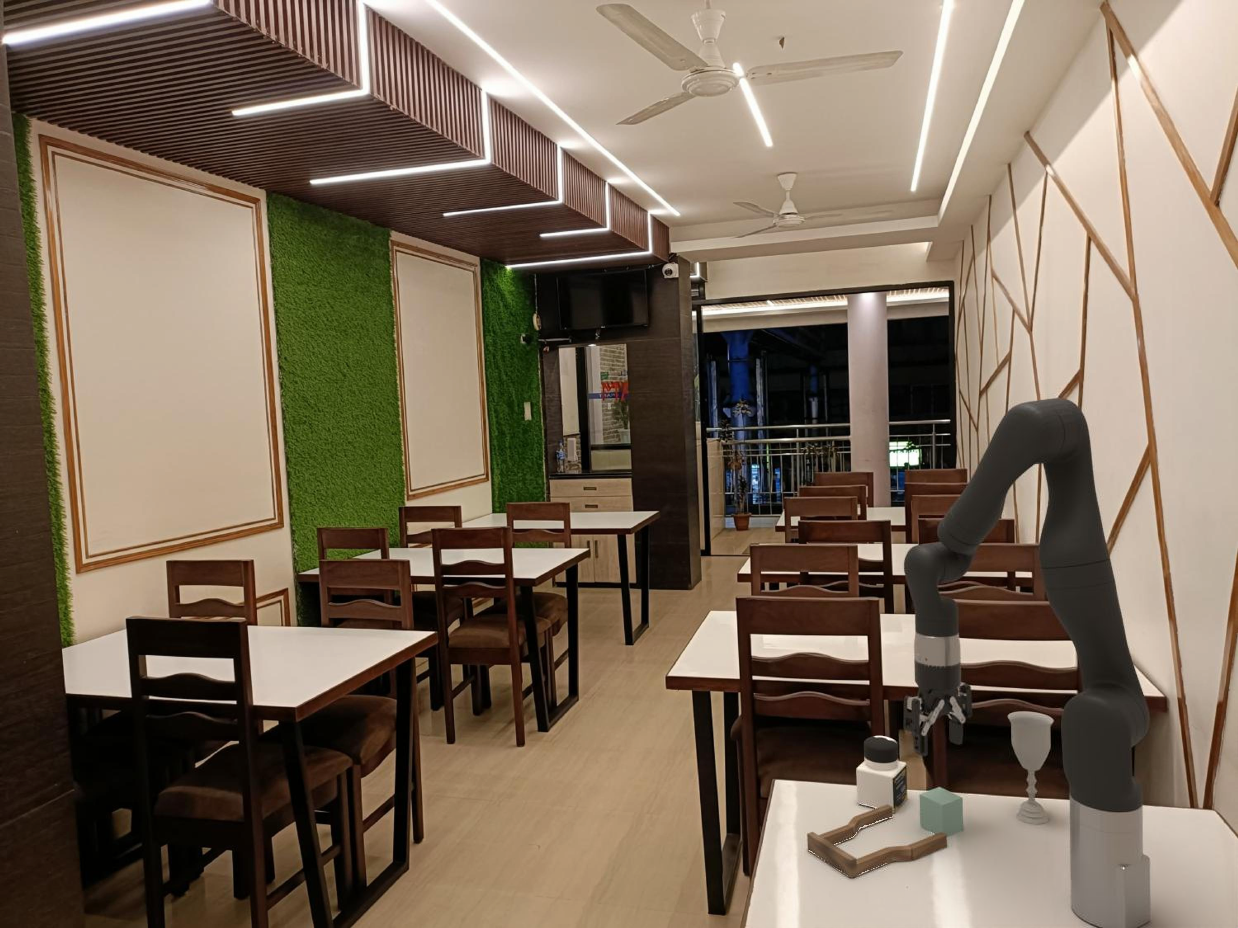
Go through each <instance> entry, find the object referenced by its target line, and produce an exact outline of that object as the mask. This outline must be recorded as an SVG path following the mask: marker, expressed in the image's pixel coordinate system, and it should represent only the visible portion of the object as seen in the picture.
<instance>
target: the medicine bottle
mask: <svg viewBox="0 0 1238 928" xmlns="http://www.w3.org/2000/svg"><path fill="white" fill-rule="evenodd" d="M863 753H864V754H863V755H864V756H863V757H864V758H863V759H864V761H863V762H861V764H859V765H858V767H856V771H855V772H856V773H855V775H856V796H857V797H856V800H857V804H858V803H859V804H860V803H861V804H867V805H869V806H874V807H877V808H879V807H882V806H885V805H887V804H888V805H890V806H891V807H893V814H895V813H896V812H897V811H898V809H900V807H901V806H902V805H903V804H904V803H905V802H906V800H907V799H908V776H907V775H908V773H907V771H908V769H907V763H906V762H904V761H900V760H899V746H898V742H897V741H896V740H895V739H893V738H891V737H888V736H886V735H885V736H883V735H875V736H870V737H867V738H866V739H865V740H864V742H863ZM859 804H858V805H859Z"/></svg>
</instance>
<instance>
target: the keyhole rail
mask: <svg viewBox="0 0 1238 928" xmlns="http://www.w3.org/2000/svg"><path fill="white" fill-rule="evenodd" d="M892 816H893V817H894V813H893V807H891V806H890V805H888V804H887V805H885V806H882V807H879V808H876V809H874V808H873V809H872V810H869V811H866V812H863V813H861V814H858V815H854V816H853V817H852V818H851V820H850V821H849V822H848V823H847V824H845V825H843V826H839V827H838V828H835V829H832V830H829V831H826V832H824V833H821V834H817V833H816V832H814V831H810V832H808V833H806V835H807V837H806V839H807V841H806V842H807V851H808V850H810V851H812V852H813V853H815V854H816V855H817V856H819V857H820V858H822V859H823V860H825V861H826V862H827V863H826V862H825V863H826V864H828V863H829V864H830V865H829V864H828V865H829V866H831V865H832V866H834V867H835V868H837V869H838V870H840V871H842V872H843V873H845V874H846V875H848V876H849V877H851V878H852V877H855V876H857V875H859V874H861V873H862V872H865V871H867V870H871V869H873V868H876V867H878V866H881V865H883V864H885V863H889V862H891V863H893V862H892V861H903V862H912V861H915V859H916V860H918V859H920V858H922V856H923V857H925V856H927V855H930V854H932V852H933V853H934V851H935V852H937V851H940V850H942V849H944V848H947V847H948V837H947V835H946V834H944V833H942V832H940V833H938V834H933V835H930V836H928V837H926V838H923V839H921V840H918V841H916V842H913V843H911V844H908V845H897V846H896V845H895V846H894V845H893V846H886V847H884V848H880V849H879V850H876V851H874V852H871V853H869V854H866V855H864V856H861V857H858V858H856V857H854V856H853V855H851V854H850V853H849V852H846V851H845V850H844V849H842V848H840V847H839V846H837V845H834V844H836V843H839V842H842V841H844V840H846V839H849V838H851V837H853V836H854V835H855V834H856V832H857V831H858V830H859V828H860V827H863V826H864V825H869V824H872V823H875V822H876V821H879V820H882V819H885V818H889V817H892ZM842 843H843V842H842ZM817 856H816V857H817ZM820 858H819V859H820ZM823 860H822V861H823ZM911 860H912V861H911ZM889 864H890V863H889ZM832 866H831V867H832ZM834 867H833V868H834ZM835 868H834V869H835ZM837 869H836V870H837ZM838 870H837V871H838ZM840 871H839V872H840ZM842 872H841V873H842ZM843 873H842V874H843ZM845 874H844V875H845ZM846 875H845V876H846ZM848 876H847V877H848ZM859 876H860V875H859ZM849 877H848V878H849ZM857 877H858V876H857ZM851 878H850V879H851ZM855 878H856V877H855ZM852 879H853V878H852Z"/></svg>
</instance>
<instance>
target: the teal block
mask: <svg viewBox="0 0 1238 928" xmlns="http://www.w3.org/2000/svg"><path fill="white" fill-rule="evenodd" d="M918 797H919V825H920V826H921V827H923V828H924V830H925V829H926V830H925V831H927V830H928V832H929V831H930V832H929V833H931V832H932V833H931V834H933V833H934V834H933V835H935V834H938V833H940V832H942V833H944V834H946V835H947V838H948V837H950V836H953V835H955V834H958V833H961V832H963V831H964V809H963V808H964V807H963V803H964V802H963V801H964V800H963V797H962V796H961V795H958V794H956V793H954V792H952V791H949V790H947V789H945V788H943V787H941V786H938V787H936V788H933V789H930V790H928V791H925V792H922V793H919V796H918ZM921 827H920V828H921ZM923 828H922V829H923Z"/></svg>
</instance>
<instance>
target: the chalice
mask: <svg viewBox="0 0 1238 928" xmlns="http://www.w3.org/2000/svg"><path fill="white" fill-rule="evenodd" d="M1007 718H1008V720H1009V722H1010V724H1011V725H1010V727H1011V728H1010V729H1011V730H1010V731H1011V734H1010V735H1011V746H1012V747H1013V751H1014V754H1015V756H1016V758H1017V759H1018V762H1019V763H1020V765H1021V766H1022V768H1023V769H1024V770H1027V773H1028V774H1027V778H1026V782H1027V783H1028V786H1027V788H1026V789H1025V791H1026V793H1027V795H1028V799H1027V800H1026V801H1023V802H1022V803H1021V804H1020V807H1019V808H1018V811H1017V813H1016V817H1017V818H1018V819H1019V820H1020V821H1022V822H1024V823H1028V824H1034V825H1041V824H1045V823H1047V822H1048V821H1049V818H1048V816H1047V814H1046V812H1045V810H1044V807H1043V806H1042V805H1041V804H1040V803H1039V802H1038V801H1036V798H1035V797H1036V794H1037V792H1038V790H1037V789H1036V787H1035V785H1036V783H1037V779H1036V776H1035V772H1036V771H1039V770H1041V768H1042V766H1043V765H1044V763H1045V761H1046V759H1047V757H1048V755H1049V752H1050V750H1051V745H1052V743H1051V726H1052V725H1053V723H1054V719H1053V718H1052V717H1051V716H1050V715H1047V714H1044V713H1040V712H1034V711H1014V712H1011V713H1009V714H1008V715H1007Z"/></svg>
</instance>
